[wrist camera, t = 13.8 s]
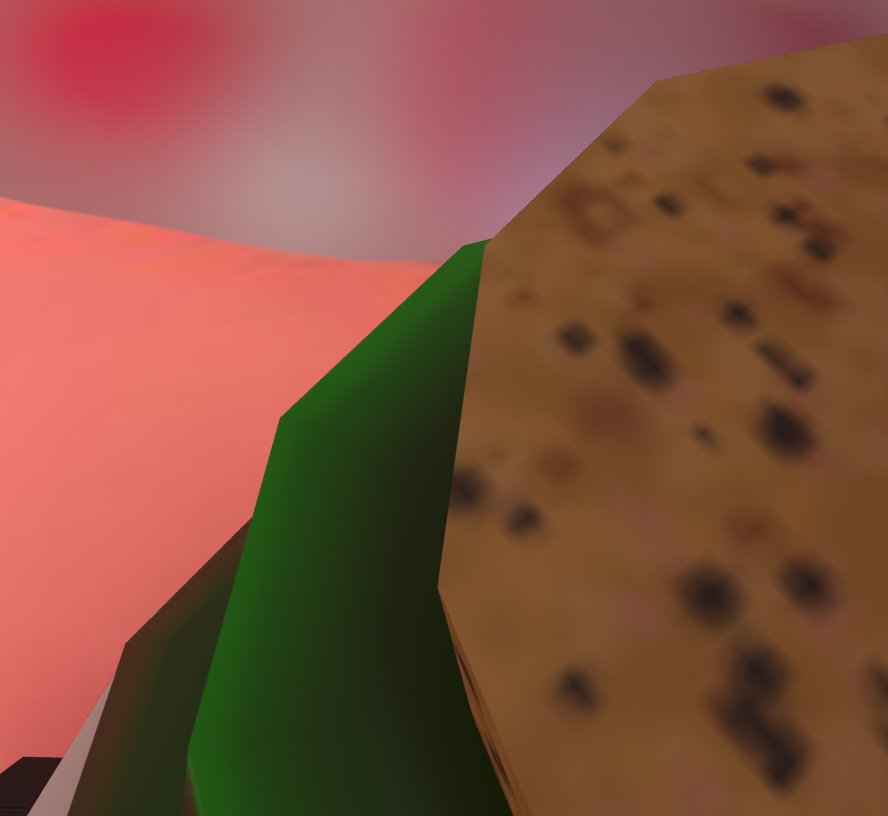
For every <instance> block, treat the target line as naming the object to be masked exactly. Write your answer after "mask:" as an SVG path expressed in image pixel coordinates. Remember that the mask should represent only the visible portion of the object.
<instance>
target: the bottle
mask: <svg viewBox="0 0 888 816" xmlns="http://www.w3.org/2000/svg"><path fill="white" fill-rule="evenodd" d="M67 816H888V34H880V35H875V36H871V37H866V38H861V39H856V40H851V41H847V42H842V43H837V44H833V45H827V46H822V47H818V48H813V49H808V50H803V51H798V52H794V53H789V54H784V55H779V56H775V57H770V58H765V59H760V60H755V61H751V62H746V63H741V64H736V65H732V66H726V67H722V68H717V69H712V70H708V71H703V72H697V73H693V74H688V75H683V76H678V77H673V78H669V79H664V80H659V81H656V82H655V83H654V84H653V85H652V86H651V87H650V88H649V89H648V90H647V91H645V93H643V94H642V95H641V96H640V97H639V98H638V99H637V100H636V101H635V102H634V103H633V104H632V105H631V106H630V107H629V108H628V109H627V110H626V111H625V112H624V113H623V114H622V115H621V116H619V117H618V118H617V119H616V120H615V121H614V122H613V123H612V124H611V125H610V126H609V127H608V128H607V129H606V130H605V131H604V132H603V133H602V134H601V135H600V136H599V137H598V138H597V139H596V140H594V141H593V143H591V144H590V145H589V146H588V147H587V148H586V149H585V150H584V151H583V152H582V153H581V154H580V155H579V156H578V157H577V158H576V159H575V160H574V161H573V162H571V163H570V164H569V165H568V166H567V167H566V168H565V169H564V170H563V171H562V172H561V173H560V174H559V175H558V176H557V177H556V178H555V179H554V180H553V181H552V182H551V183H550V184H549V185H548V186H546V188H544V189H543V190H542V191H541V192H540V193H539V194H538V195H537V196H536V197H535V198H534V199H533V200H532V201H531V202H530V203H529V204H528V205H527V206H526V207H525V208H524V209H523V210H522V211H521V212H519V213H518V215H516V216H515V217H514V218H513V219H512V220H511V221H510V222H509V223H508V224H507V225H506V226H505V227H504V228H503V229H502V230H501V231H500V232H499V233H498V234H497V235H496V236H494V237H493V238H492V239H488V240H484V241H480V242H476V243H472V244H469V245H464V246H463V247H461V248H460V249H459V250H458V251H457V252H456V253H455V254H454V255H453V256H452V257H451V258H450V259H449V260H447V262H445V263H444V264H443V265H442V266H441V267H440V268H439V269H438V270H437V271H436V272H435V273H434V274H433V275H432V276H430V277H429V278H428V279H427V280H426V281H425V282H424V283H423V284H422V285H421V286H420V287H419V288H418V289H417V290H416V291H414V292H413V293H412V294H411V295H410V296H409V297H408V298H407V299H406V300H405V301H404V302H403V303H402V304H401V305H400V306H399V307H397V308H396V309H395V310H394V311H393V312H392V313H391V314H390V315H389V316H388V317H387V318H386V319H385V320H384V321H383V322H381V323H380V324H379V325H378V326H377V327H376V328H375V329H374V330H373V331H372V332H371V333H370V334H369V335H368V336H367V337H366V338H364V339H363V340H362V341H361V342H360V343H359V344H358V345H357V346H356V347H355V348H354V349H353V350H352V351H351V352H350V353H348V354H347V355H346V356H345V357H344V358H343V359H342V360H341V361H340V362H339V363H338V364H337V365H336V366H335V367H334V368H333V369H331V370H330V371H329V372H328V373H327V374H326V375H325V376H324V377H323V378H322V379H321V380H320V381H319V382H318V383H317V384H316V385H314V386H313V387H312V388H311V389H310V390H309V391H308V392H307V393H306V394H305V395H304V396H303V397H302V398H301V399H300V400H298V401H297V402H296V403H295V404H294V405H293V406H292V407H291V408H290V409H289V410H288V411H287V412H286V413H285V414H284V415H283V416H281V417H280V420H279V424H278V427H277V431H276V434H275V438H274V442H273V445H272V449H271V452H270V456H269V460H268V463H267V467H266V470H265V474H264V477H263V481H262V485H261V488H260V492H259V495H258V499H257V502H256V506H255V510H254V513H253V517H252V518H251V519H250V520H249V521H248V522H247V523H246V524H245V525H244V526H243V527H242V528H241V529H240V530H239V531H238V532H237V533H236V534H235V535H234V536H233V537H232V538H231V539H230V540H229V541H228V542H227V543H226V544H225V545H224V546H223V547H222V548H221V549H220V550H219V551H218V552H217V553H216V554H215V555H214V556H213V557H212V558H211V559H210V560H209V561H208V562H207V563H206V564H205V565H204V566H203V567H202V568H201V569H200V570H199V571H198V572H197V573H196V574H195V575H194V576H193V577H192V578H191V579H190V580H189V581H188V582H187V583H186V584H185V585H184V586H183V587H182V588H181V589H180V590H179V591H178V592H177V593H176V594H175V595H174V596H173V597H172V598H171V599H170V600H169V601H168V602H167V603H166V604H165V605H164V606H163V607H162V608H161V609H160V610H159V611H158V612H157V613H156V614H155V615H154V616H153V617H152V618H151V619H150V620H149V621H148V622H147V623H146V624H145V625H144V626H143V627H142V628H141V629H140V630H139V631H138V632H137V633H136V634H135V635H134V636H133V637H132V638H131V639H130V640H129V641H128V642H127V643H126V644H125V647H124V650H123V653H122V656H121V658H120V661H119V664H118V667H117V670H116V673H115V676H114V679H113V682H112V685H111V688H110V691H109V694H108V697H107V700H106V703H105V706H104V709H103V711H102V714H101V717H100V720H99V723H98V726H97V729H96V732H95V735H94V738H93V741H92V744H91V747H90V750H89V753H88V756H87V759H86V761H85V764H84V767H83V770H82V773H81V776H80V779H79V782H78V785H77V788H76V791H75V794H74V797H73V800H72V803H71V806H70V809H69V812H68V814H67Z"/></svg>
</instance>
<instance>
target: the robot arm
mask: <svg viewBox="0 0 888 816" xmlns="http://www.w3.org/2000/svg"><path fill="white" fill-rule="evenodd" d="M158 611H159V610H154V612H153V613H152V615H151V617H150V618H149V620H150V619H151V618H152V617H153V616H154V615H155V614H156V613H157V612H158ZM149 620H148V621H149ZM148 621H147V622H148ZM114 676H115V675H114ZM114 676H113V678H112V680H111V681H110V683H109V684H108V686H107V688H106V689H105V691H104V693H103V694H102V696H101V697H100V699H99V701H98V702H97V704H96V705H95V707H94V709H93V710H92V712H91V714H90V715H89V717H88V718H87V720H86V722H85V723H84V725H83V726H82V728H81V730H80V731H79V733H78V735H77V736H76V738H75V739H74V741H73V743H72V744H71V746H70V747H69V749H68V751H67V752H66V754H65V756H64V757H63V758H53V757H22V758H21V759H20V760H18V761H17V762H16V763H14V764H13V765H12V766H10V767H9V768H8V769H6V770H5V771H4V772H2V773H1V774H0V816H67V814H68V812H69V809H70V806H71V803H72V800H73V797H74V794H75V791H76V788H77V785H78V782H79V779H80V776H81V773H82V770H83V767H84V764H85V761H86V759H87V756H88V753H89V750H90V747H91V744H92V741H93V738H94V735H95V732H96V729H97V726H98V723H99V720H100V717H101V714H102V711H103V709H104V706H105V703H106V700H107V697H108V694H109V691H110V688H111V685H112V682H113V679H114Z"/></svg>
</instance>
